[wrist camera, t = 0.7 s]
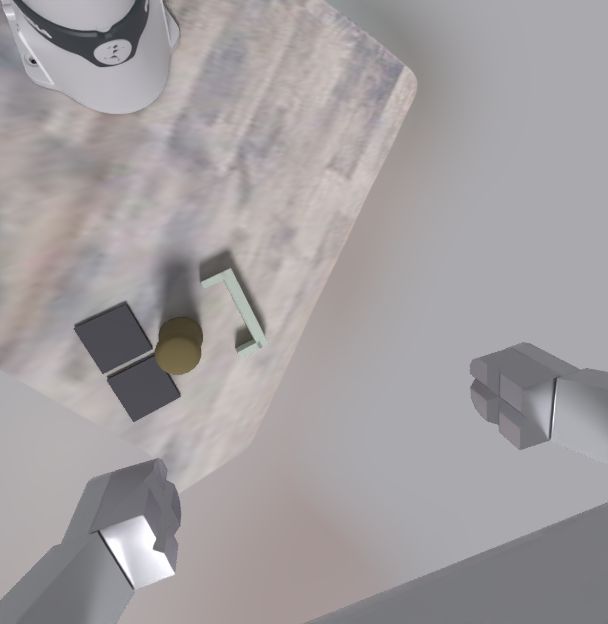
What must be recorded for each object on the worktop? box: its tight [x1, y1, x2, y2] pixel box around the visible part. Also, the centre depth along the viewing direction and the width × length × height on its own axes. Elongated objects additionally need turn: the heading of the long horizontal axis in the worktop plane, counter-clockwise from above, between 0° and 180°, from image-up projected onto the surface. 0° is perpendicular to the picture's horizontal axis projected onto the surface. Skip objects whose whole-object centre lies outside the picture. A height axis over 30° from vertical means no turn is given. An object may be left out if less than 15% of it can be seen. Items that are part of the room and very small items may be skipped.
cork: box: [155, 317, 203, 375], centre depth 46 cm, size 6×6×11 cm
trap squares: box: [74, 304, 180, 422], centre depth 49 cm, size 15×7×1 cm, turn 25°
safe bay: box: [200, 268, 269, 359], centre depth 51 cm, size 12×4×3 cm, turn 25°
